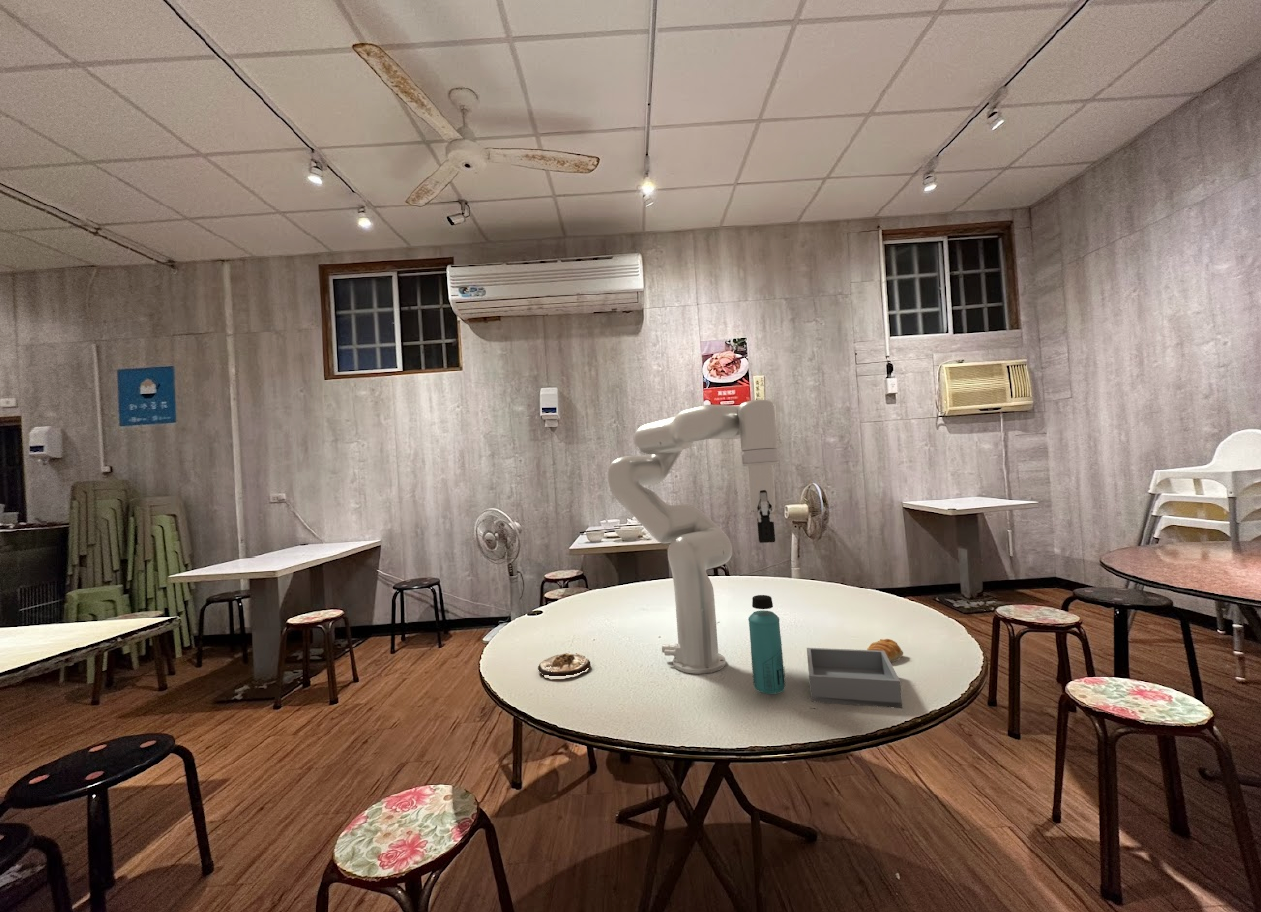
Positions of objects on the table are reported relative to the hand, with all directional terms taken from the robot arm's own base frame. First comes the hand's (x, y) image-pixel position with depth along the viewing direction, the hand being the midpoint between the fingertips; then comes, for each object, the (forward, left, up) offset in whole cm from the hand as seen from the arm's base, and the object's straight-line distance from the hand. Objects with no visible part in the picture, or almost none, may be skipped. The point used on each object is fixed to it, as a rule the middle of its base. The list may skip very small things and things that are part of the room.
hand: (766, 539), depth 104 cm
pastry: (+24, +22, -32) cm, 45 cm away
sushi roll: (-51, +4, -32) cm, 60 cm away
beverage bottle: (-2, -2, -32) cm, 32 cm away
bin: (+14, +4, -31) cm, 35 cm away
